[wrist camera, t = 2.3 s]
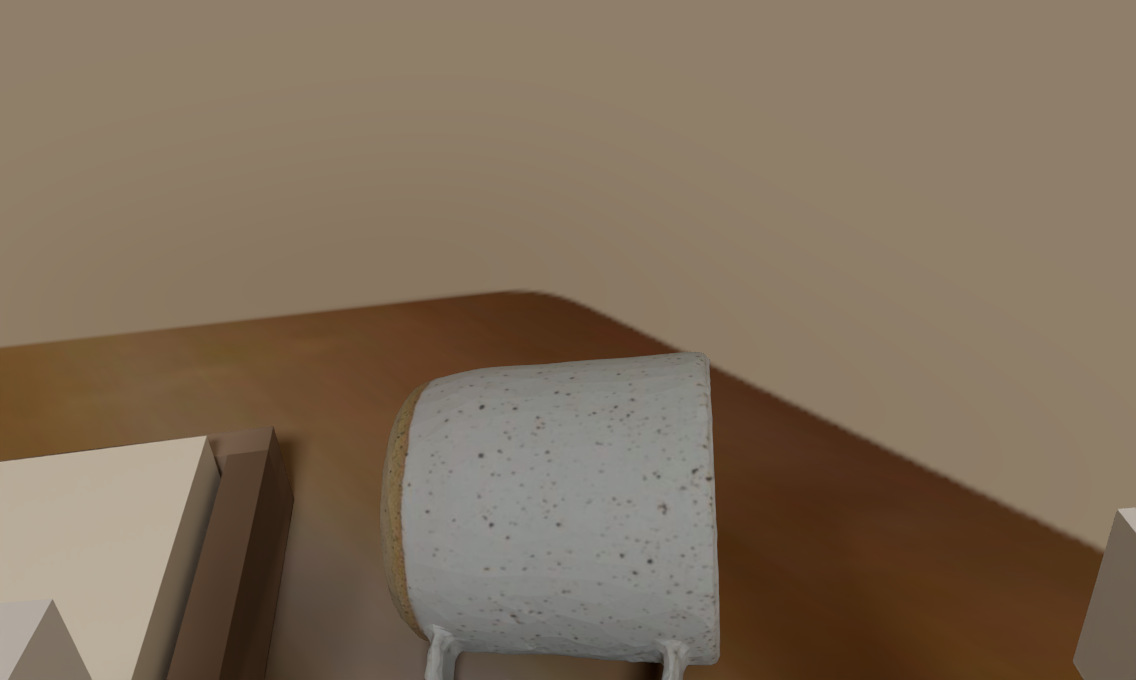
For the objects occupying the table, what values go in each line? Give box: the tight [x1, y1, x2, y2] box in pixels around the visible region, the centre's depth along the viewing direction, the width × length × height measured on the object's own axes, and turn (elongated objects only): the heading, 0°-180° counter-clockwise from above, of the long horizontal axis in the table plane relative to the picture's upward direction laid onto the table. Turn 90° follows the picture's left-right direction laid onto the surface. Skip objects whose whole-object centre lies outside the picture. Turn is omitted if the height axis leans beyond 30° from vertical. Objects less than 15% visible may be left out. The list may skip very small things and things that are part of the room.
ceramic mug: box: [380, 352, 720, 680], centre depth 24 cm, size 11×8×8 cm
